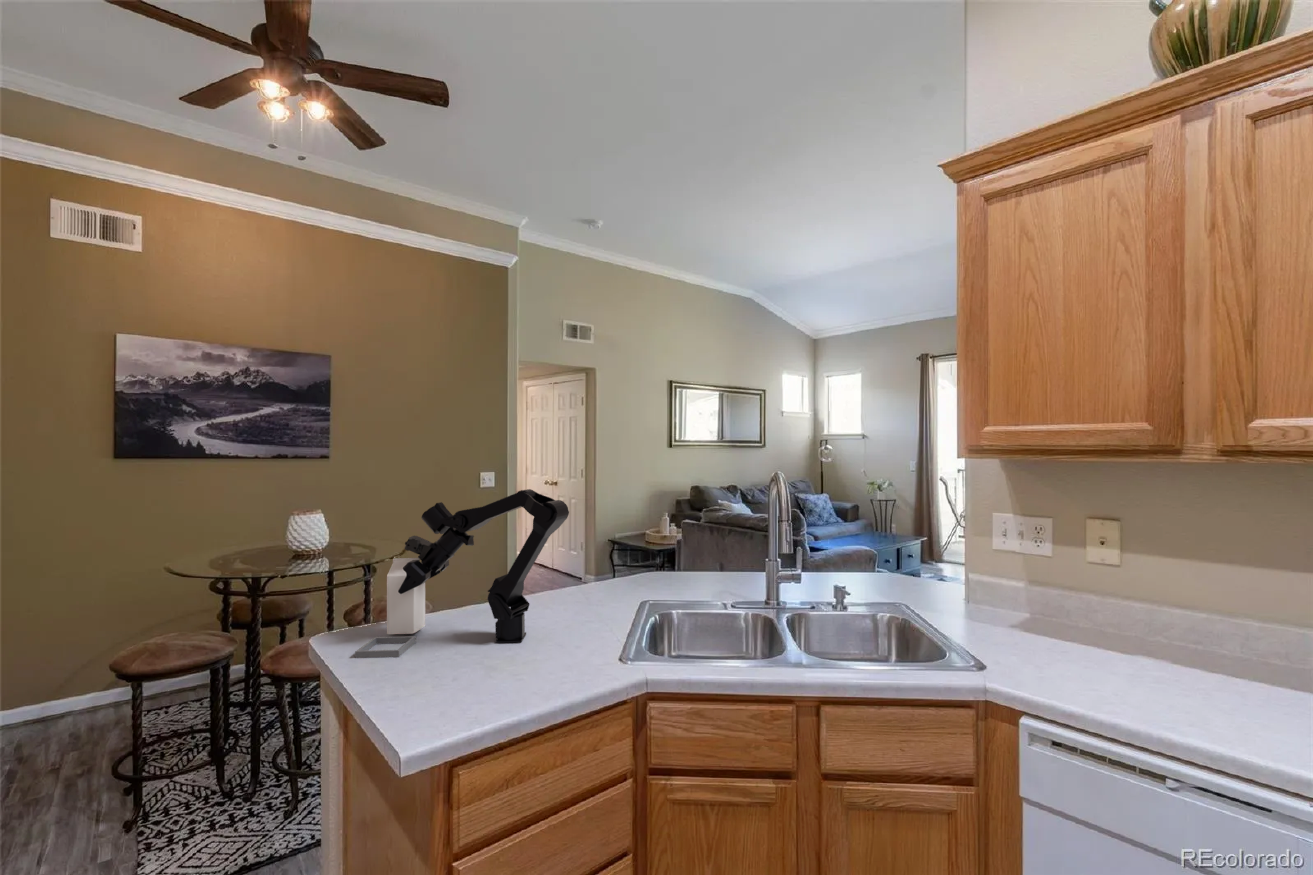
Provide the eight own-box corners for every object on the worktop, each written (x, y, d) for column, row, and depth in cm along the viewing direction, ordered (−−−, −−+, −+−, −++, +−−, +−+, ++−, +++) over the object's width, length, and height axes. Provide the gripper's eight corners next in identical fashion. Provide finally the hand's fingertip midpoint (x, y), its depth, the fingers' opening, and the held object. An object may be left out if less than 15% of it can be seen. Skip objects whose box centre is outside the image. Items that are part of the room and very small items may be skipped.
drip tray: (415, 642, 147) (415, 636, 147) (398, 657, 136) (398, 650, 136) (375, 643, 146) (375, 637, 146) (355, 658, 136) (355, 651, 136)
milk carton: (414, 634, 149) (413, 559, 150) (386, 634, 149) (386, 560, 150) (425, 627, 156) (425, 555, 157) (399, 627, 156) (399, 556, 158)
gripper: (436, 521, 163) (398, 561, 163) (410, 530, 144) (366, 576, 144) (465, 548, 163) (426, 588, 163) (442, 561, 145) (399, 607, 144)
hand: (405, 589), depth 153 cm, fingers closed on milk carton, 7 cm apart
